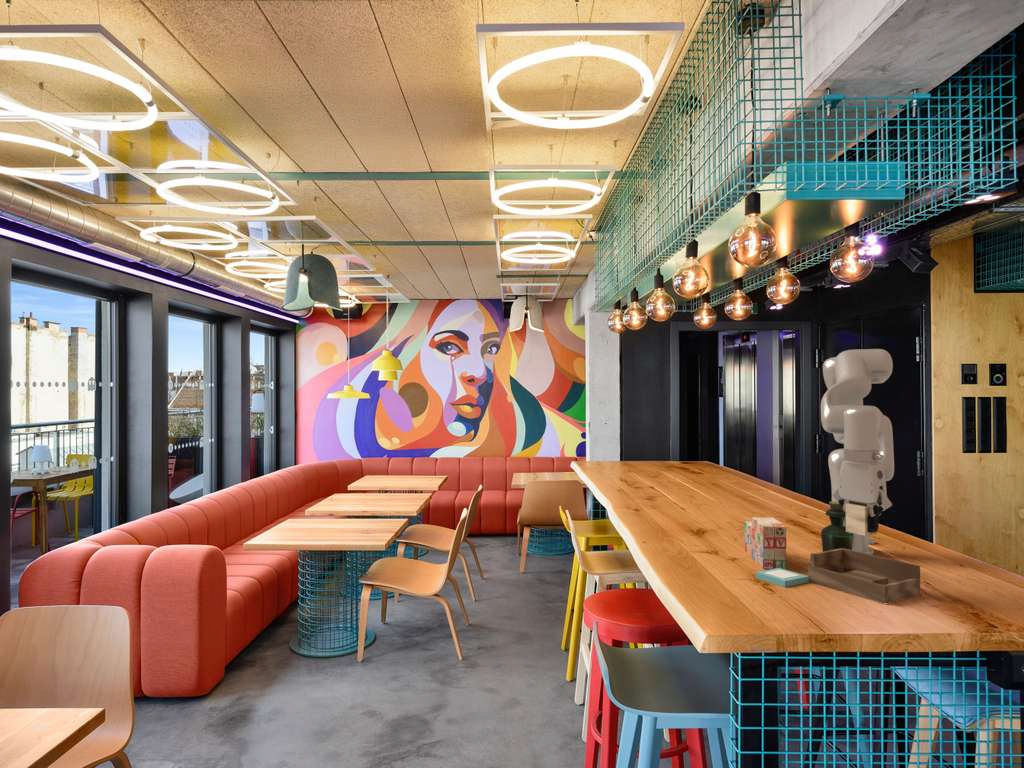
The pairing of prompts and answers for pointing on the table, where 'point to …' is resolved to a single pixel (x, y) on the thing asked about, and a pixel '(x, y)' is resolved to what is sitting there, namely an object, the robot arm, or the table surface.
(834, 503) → the potion bottle
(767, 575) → the teal picture frame
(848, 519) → the beech block
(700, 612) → the table surface
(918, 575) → the brown wooden tray
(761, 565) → the stack of blocks
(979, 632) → the table surface
